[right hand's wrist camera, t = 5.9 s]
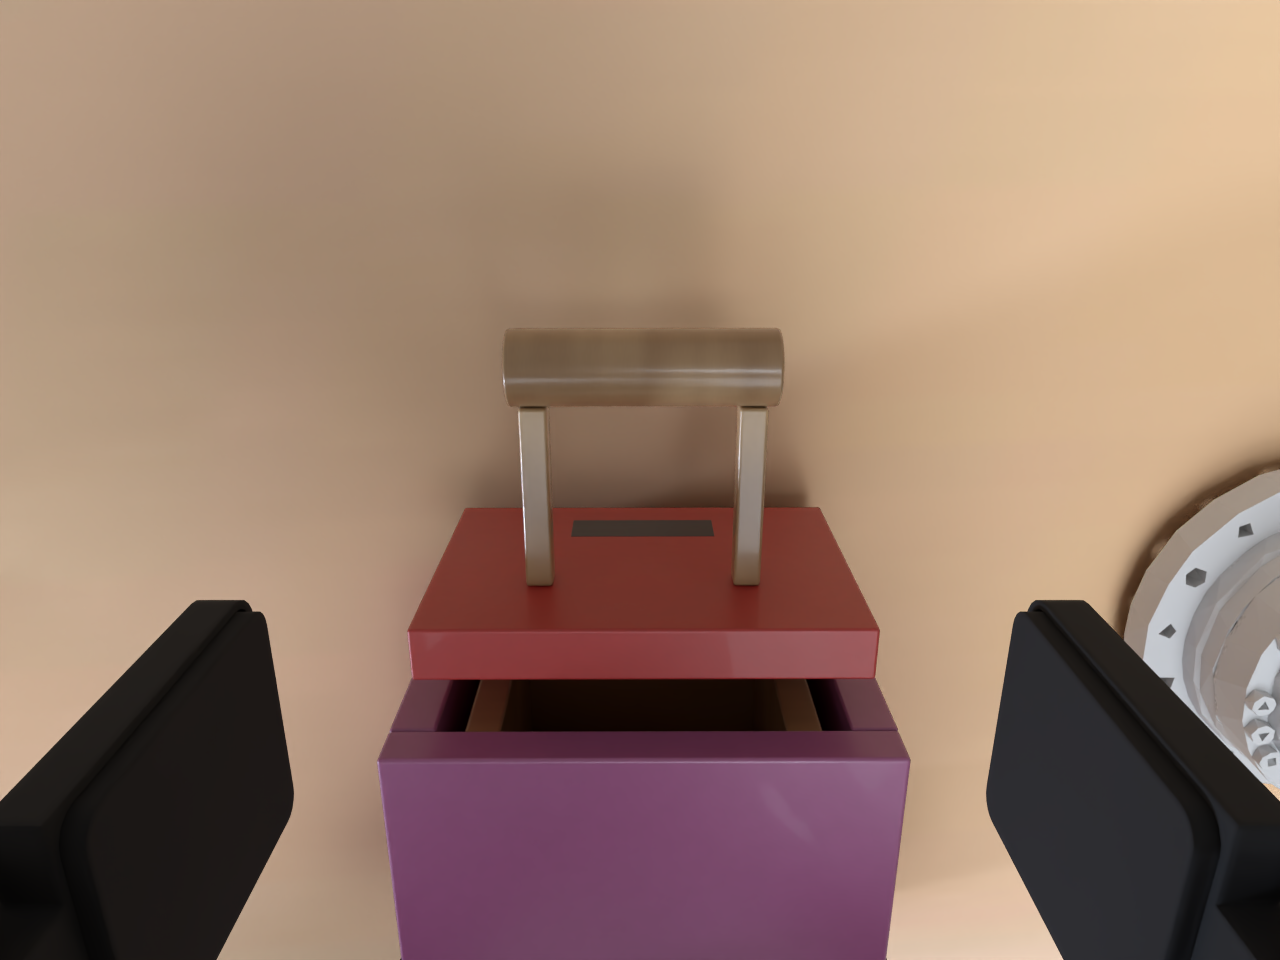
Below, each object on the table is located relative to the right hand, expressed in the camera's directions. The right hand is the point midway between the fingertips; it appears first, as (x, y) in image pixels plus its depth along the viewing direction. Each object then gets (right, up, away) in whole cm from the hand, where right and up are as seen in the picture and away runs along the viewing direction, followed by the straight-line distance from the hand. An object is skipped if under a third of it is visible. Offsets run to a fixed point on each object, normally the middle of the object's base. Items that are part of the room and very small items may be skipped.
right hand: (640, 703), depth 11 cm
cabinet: (0, -6, +17) cm, 18 cm away
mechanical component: (+19, -1, +16) cm, 25 cm away
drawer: (0, -1, +14) cm, 14 cm away
